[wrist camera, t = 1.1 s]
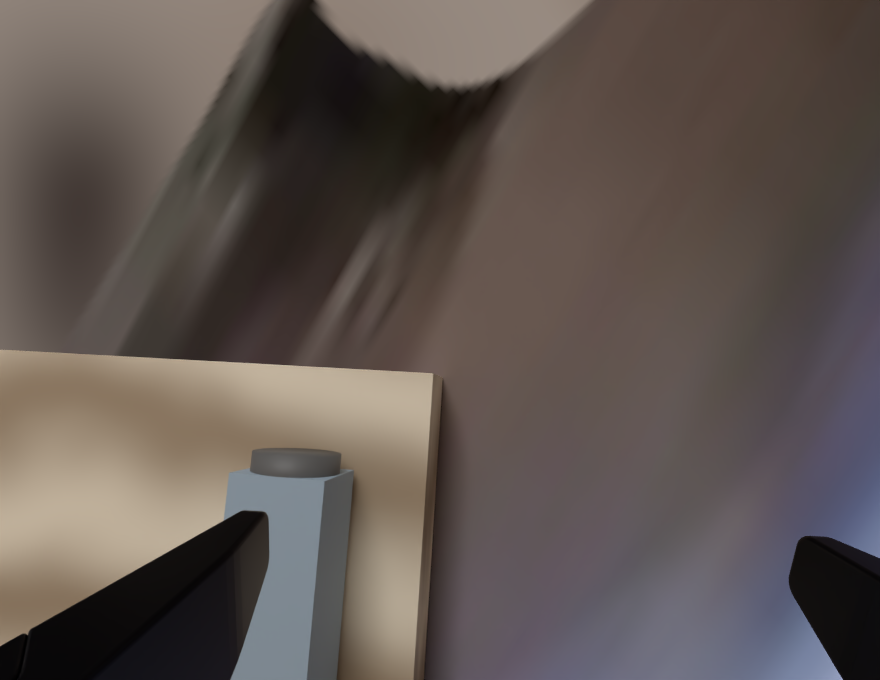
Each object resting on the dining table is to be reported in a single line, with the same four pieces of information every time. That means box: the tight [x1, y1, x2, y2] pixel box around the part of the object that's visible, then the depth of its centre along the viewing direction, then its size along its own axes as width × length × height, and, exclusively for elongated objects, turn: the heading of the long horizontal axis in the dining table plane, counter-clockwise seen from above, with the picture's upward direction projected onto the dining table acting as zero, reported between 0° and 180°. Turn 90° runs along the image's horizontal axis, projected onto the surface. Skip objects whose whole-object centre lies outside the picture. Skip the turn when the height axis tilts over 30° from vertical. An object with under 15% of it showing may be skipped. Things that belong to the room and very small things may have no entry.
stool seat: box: [0, 350, 443, 680], centre depth 19 cm, size 20×20×2 cm
